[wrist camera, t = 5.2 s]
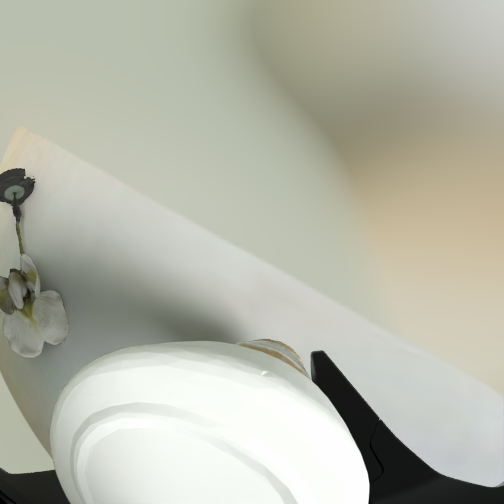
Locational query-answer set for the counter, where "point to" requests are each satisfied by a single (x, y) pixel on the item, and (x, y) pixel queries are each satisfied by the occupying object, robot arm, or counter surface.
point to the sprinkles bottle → (203, 429)
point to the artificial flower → (27, 287)
